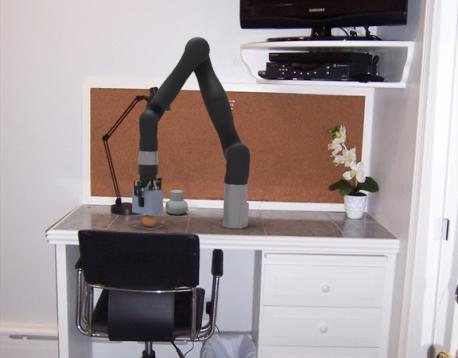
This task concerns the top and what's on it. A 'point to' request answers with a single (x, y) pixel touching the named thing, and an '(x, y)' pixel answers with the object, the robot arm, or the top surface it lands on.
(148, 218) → the ball
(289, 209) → the top surface
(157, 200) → the blue-grey block
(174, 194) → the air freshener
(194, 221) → the top surface
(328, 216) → the top surface
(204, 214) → the top surface
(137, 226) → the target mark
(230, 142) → the robot arm
